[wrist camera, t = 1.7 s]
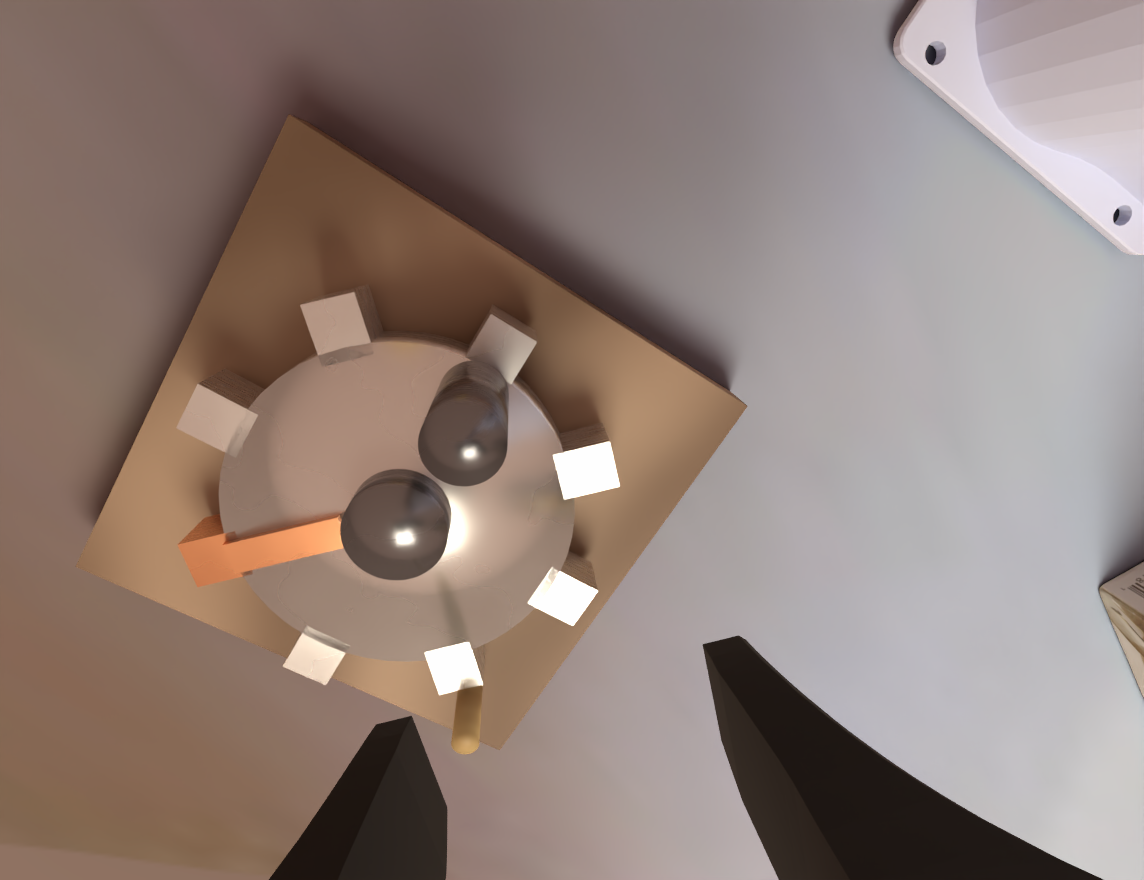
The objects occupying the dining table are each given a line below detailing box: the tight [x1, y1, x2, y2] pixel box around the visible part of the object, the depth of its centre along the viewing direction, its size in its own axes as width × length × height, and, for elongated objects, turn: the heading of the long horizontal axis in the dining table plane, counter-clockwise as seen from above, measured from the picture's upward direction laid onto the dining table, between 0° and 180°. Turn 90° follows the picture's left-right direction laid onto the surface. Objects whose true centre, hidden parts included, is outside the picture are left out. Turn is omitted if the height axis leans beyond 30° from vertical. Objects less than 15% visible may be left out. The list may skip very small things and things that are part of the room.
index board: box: [76, 115, 747, 754], centre depth 17 cm, size 13×13×4 cm
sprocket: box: [176, 285, 620, 695], centre depth 15 cm, size 11×11×5 cm
